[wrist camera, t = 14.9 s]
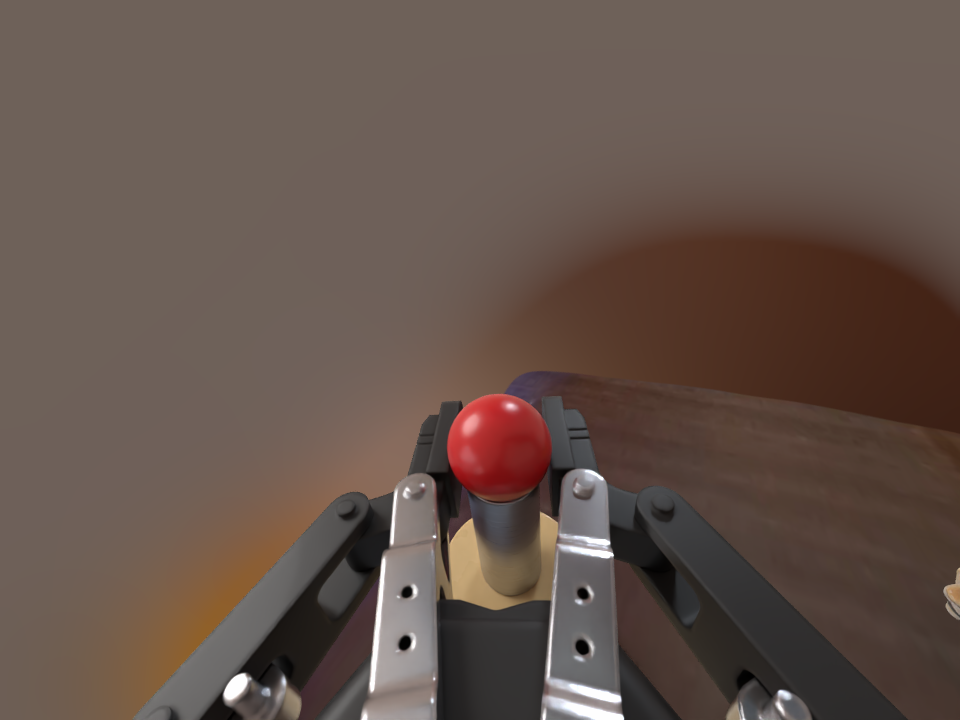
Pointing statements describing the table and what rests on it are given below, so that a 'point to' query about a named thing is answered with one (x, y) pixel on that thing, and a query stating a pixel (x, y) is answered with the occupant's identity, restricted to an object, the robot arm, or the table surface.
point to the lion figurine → (953, 597)
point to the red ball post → (502, 504)
